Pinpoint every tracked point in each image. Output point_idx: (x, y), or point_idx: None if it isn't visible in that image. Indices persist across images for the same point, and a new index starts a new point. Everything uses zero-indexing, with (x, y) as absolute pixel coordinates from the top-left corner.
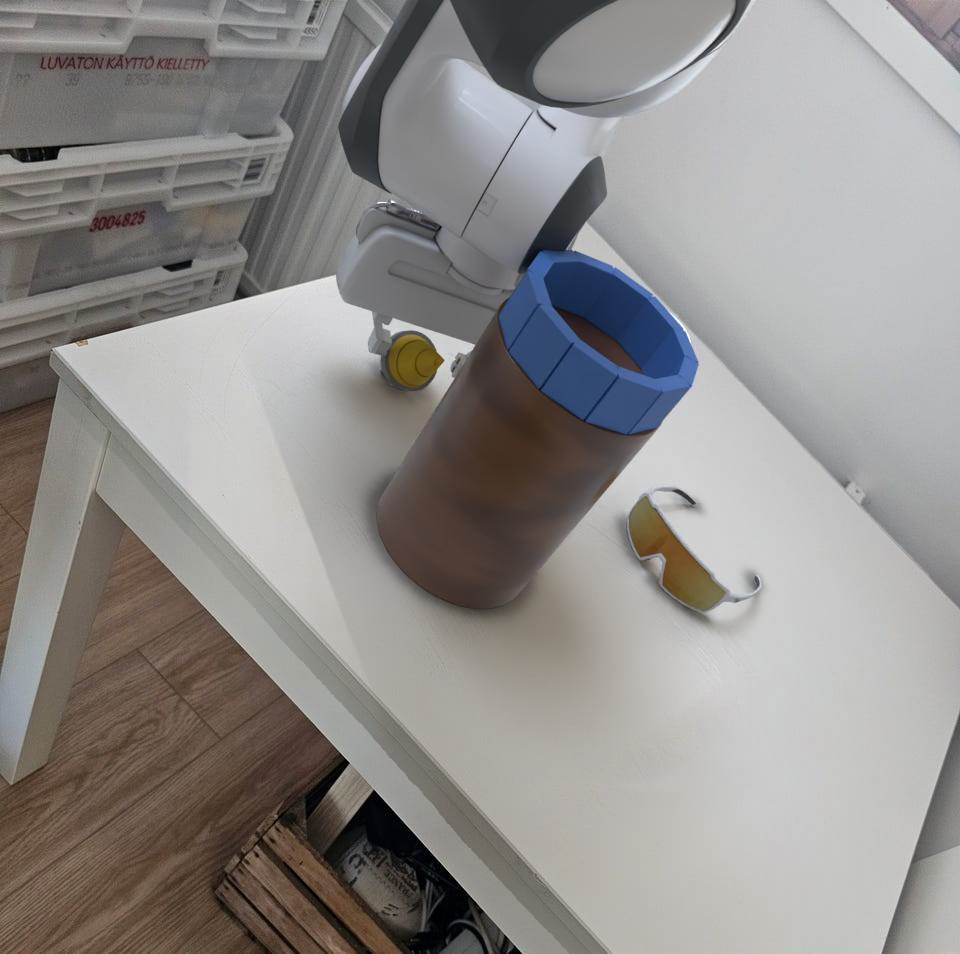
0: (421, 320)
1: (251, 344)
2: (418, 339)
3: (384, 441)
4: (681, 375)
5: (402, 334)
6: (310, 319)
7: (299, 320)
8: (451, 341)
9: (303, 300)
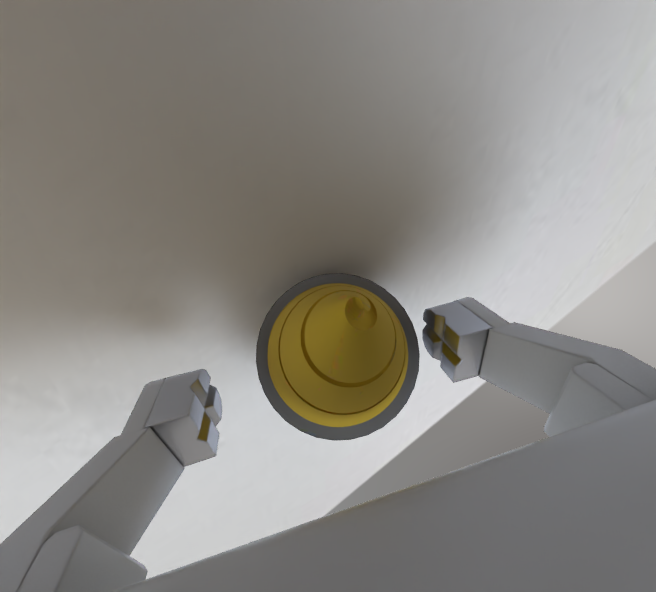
0: (610, 493)
1: (614, 219)
2: (373, 408)
3: (368, 9)
4: None
5: (400, 399)
6: None
7: None
8: (224, 468)
9: None
